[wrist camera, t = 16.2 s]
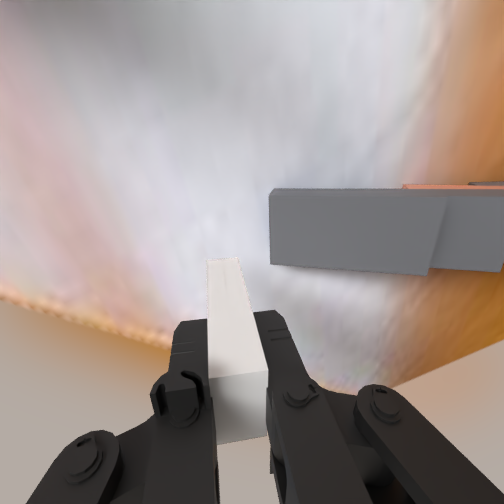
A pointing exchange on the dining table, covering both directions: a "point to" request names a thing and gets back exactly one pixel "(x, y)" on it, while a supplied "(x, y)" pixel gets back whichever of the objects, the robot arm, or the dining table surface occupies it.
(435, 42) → the dining table surface
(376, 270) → the domino
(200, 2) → the dining table surface
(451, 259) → the domino
